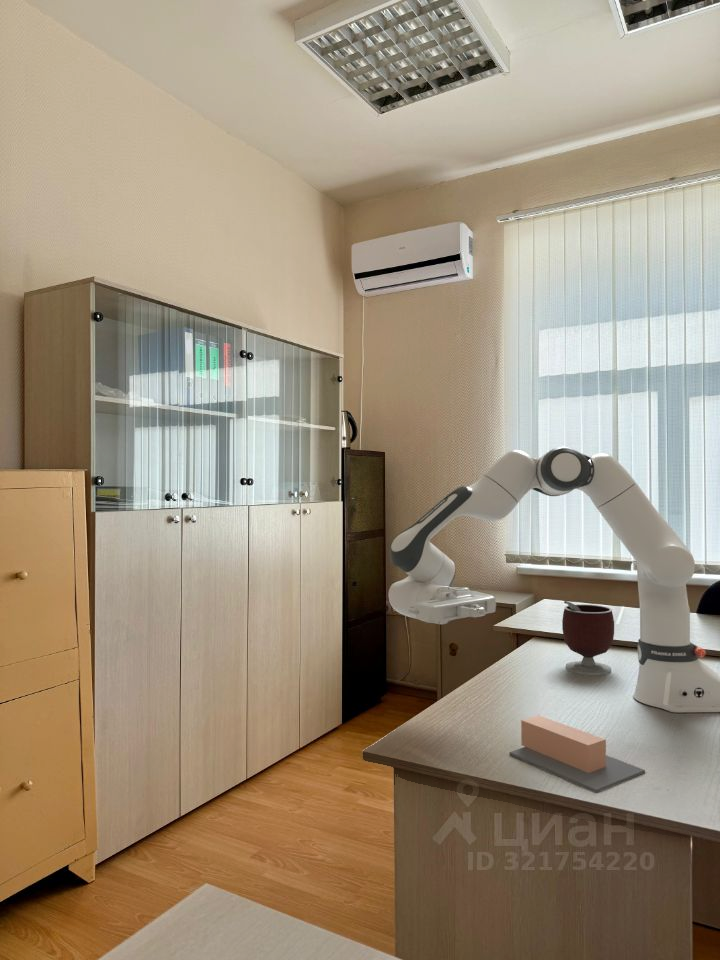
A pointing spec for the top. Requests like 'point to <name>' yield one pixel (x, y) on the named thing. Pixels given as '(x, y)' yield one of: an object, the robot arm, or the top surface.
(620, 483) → the robot arm
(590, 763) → the terracotta block
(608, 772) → the charcoal mat
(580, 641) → the mate gourd
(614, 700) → the top surface
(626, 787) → the top surface
